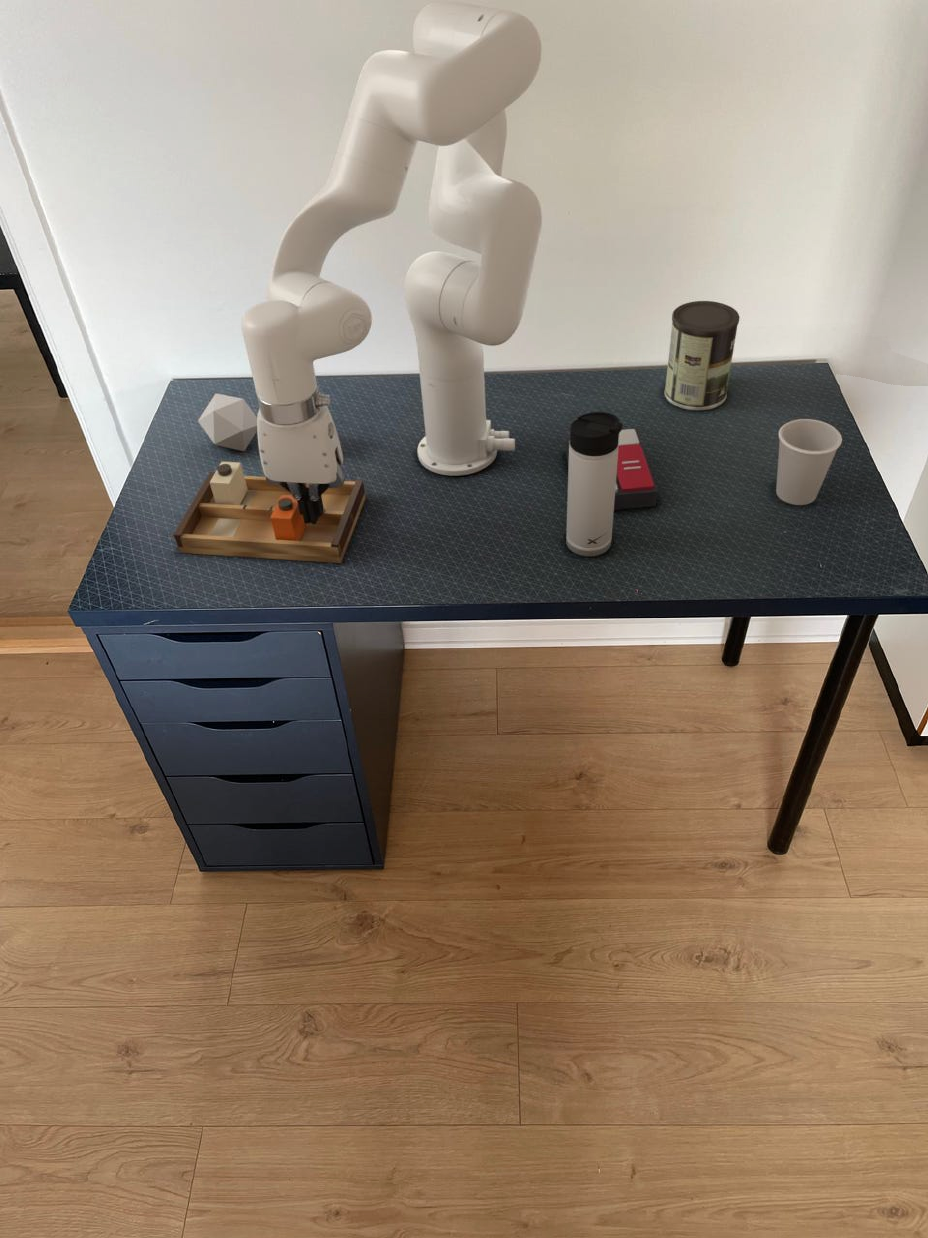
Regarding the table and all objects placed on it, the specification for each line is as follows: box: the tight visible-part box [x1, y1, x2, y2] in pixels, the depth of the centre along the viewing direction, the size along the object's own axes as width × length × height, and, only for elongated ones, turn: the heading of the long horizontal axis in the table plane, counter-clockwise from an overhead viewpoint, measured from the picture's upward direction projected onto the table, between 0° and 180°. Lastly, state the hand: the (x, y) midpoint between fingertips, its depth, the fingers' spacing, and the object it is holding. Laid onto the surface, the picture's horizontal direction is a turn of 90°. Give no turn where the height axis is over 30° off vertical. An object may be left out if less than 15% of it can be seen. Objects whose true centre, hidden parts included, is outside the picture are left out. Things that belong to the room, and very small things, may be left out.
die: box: [197, 393, 258, 452], centre depth 150 cm, size 8×9×10 cm
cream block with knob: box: [210, 461, 248, 505], centre depth 138 cm, size 3×5×6 cm, turn 171°
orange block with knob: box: [270, 495, 307, 541], centre depth 131 cm, size 3×5×6 cm, turn 171°
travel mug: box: [565, 411, 623, 557], centre depth 123 cm, size 6×7×20 cm
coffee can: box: [663, 300, 740, 411], centre depth 151 cm, size 10×10×14 cm
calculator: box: [565, 428, 659, 511], centre depth 139 cm, size 11×4×15 cm
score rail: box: [173, 471, 367, 564], centre depth 136 cm, size 24×15×3 cm, turn 81°
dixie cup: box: [775, 418, 843, 506], centre depth 132 cm, size 8×8×10 cm
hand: (313, 517), depth 130 cm, fingers closed
